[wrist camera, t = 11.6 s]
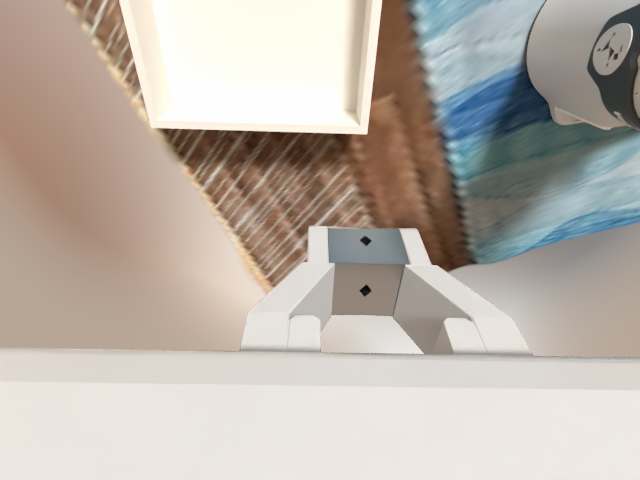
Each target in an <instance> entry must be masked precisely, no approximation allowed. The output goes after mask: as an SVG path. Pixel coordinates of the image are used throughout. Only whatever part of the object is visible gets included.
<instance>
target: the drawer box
mask: <svg viewBox="0 0 640 480" xmlns="http://www.w3.org/2000/svg"><path fill="white" fill-rule="evenodd" d="M119 1H120V5H121V9H122V13H123V17H124V21H125V25H126V29H127V33H128V37H129V41H130V45H131V49H132V53H133V57H134V61H135V65H136V69H137V73H138V77H139V81H140V85H141V89H142V93H143V97H144V101H145V105H146V109H147V113H148V117H149V121H150V125H151V128H171V129H205V130H238V131H271V132H305V133H338V134H367V131H368V122H369V113H370V104H371V95H372V86H373V77H374V68H375V59H376V50H377V41H378V32H379V24H380V15H381V6H382V0H119Z"/></svg>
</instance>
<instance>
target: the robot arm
mask: <svg viewBox="0 0 640 480" xmlns="http://www.w3.org/2000/svg"><path fill="white" fill-rule="evenodd" d="M527 69H528V74H529V77H530V80H531V82H532V84H533V86H534V87H535V89H536V90H537V91H538V92H539V93H540V94H541V95H542V96H543V97H544V98H545V99H546V100H547V102H548V104H549V108H550V113H551V116H552V119H553V120H554V122H556V123H558V124H560V125H571V124H577V123H583V122H586V123H589V124H591V125H593V126H596V127H598V128H600V129H604V130H610V129H611V128H612V127H622V126H629V127H631V128H633V129H635V130H638V131H640V0H547V1H546V2H545V4H544V6H543V7H542V9H541V11H540V13H539V14H538V17H537V19H536V21H535V23H534V25H533V28H532V31H531V34H530V38H529V42H528V47H527ZM331 315H378V316H379V315H381V316H393V318H394V319H395V320H396V322H397V323H398V324H399V325H400V326H401V327H402V328H403V330H404V331H405V332H406V333H407V334H408V335H409V336H410V338H411V339H412V340H413V341H414V342H415V343H416V345H417V346H418V347H419V348H420V349H421V350H422V352H423V353H424V354H385V353H384V354H383V353H321V342H320V341H321V339H320V338H321V337H320V332H321V331H322V329H323V328H324V326H325V325H326V323H327V322H328V321H329V319H330V318H331ZM0 480H640V358H630V357H628V358H627V357H624V358H623V357H557V356H556V357H554V356H533V354H532V352H531V350H530V349H529V347H528V345H527V343H526V341H525V340H524V338H523V336H522V334H521V332H520V331H519V329H518V327H517V325H516V324H515V322H514V320H513V318H512V317H510V316H508V315H507V314H506V313H504V312H503V311H502V310H500V309H498V308H497V307H496V306H494V305H493V304H492V303H490V302H489V301H487V300H486V299H484V298H483V297H482V296H480V295H479V294H477V293H476V292H474V291H473V290H472V289H470V288H469V287H467V286H466V285H464V284H463V283H461V282H460V281H459V280H457V279H456V278H454V277H453V276H452V275H450V274H449V273H447V272H446V271H444V270H443V269H442V268H440V267H439V266H437V265H432V264H431V262H430V259H429V257H428V254H427V252H426V249H425V247H424V244H423V242H422V239H421V237H420V234H419V232H418V230H417V229H416V228H398V229H369V228H352V227H330V226H328V227H327V226H309V228H308V255H307V262H302V263H301V264H300V265H299V266H298V267H296V268H295V269H294V270H293V271H292V272H291V273H290V274H289V275H288V276H287V277H286V278H285V279H284V280H282V281H281V282H280V283H279V284H278V285H277V286H276V287H275V288H274V289H273V290H272V291H271V292H269V293H268V294H267V295H266V296H265V297H264V298H263V299H262V300H261V301H260V302H259V303H258V304H256V306H254V307H253V308H252V309H251V310H250V311H249V312H248V314H247V319H246V323H245V328H244V333H243V337H242V342H241V347H240V351H197V350H196V351H195V350H191V351H190V350H135V349H132V350H131V349H76V348H75V349H73V348H72V349H71V348H17V347H16V348H15V347H0Z"/></svg>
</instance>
